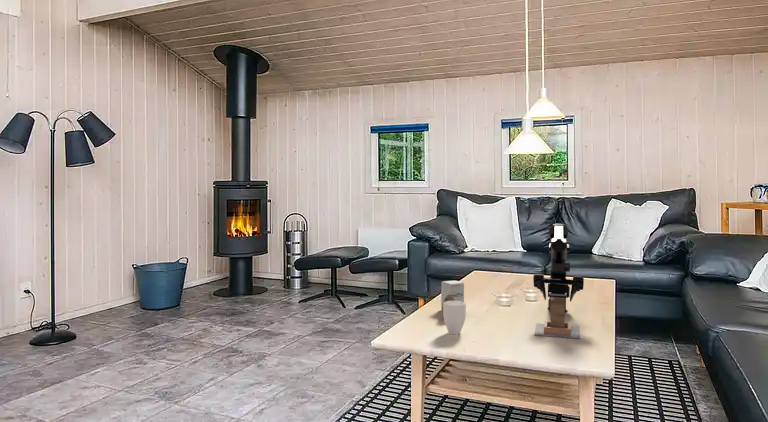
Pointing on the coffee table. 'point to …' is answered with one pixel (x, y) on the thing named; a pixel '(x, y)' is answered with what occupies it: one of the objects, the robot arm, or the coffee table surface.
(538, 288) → the robot arm
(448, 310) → the mug
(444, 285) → the supplement box
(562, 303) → the block
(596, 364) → the coffee table surface
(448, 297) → the decorative egg
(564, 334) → the holder
